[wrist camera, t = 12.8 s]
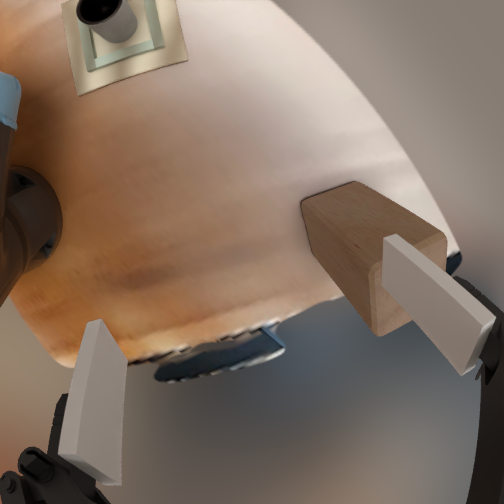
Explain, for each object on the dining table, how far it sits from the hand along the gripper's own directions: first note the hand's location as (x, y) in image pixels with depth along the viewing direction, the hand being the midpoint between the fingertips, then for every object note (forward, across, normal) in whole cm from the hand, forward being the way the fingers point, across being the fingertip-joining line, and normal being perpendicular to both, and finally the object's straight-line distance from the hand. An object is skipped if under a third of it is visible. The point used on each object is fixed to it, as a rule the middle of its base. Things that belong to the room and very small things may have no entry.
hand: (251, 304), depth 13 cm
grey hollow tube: (+28, -6, +21) cm, 35 cm away
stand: (+29, -6, +21) cm, 36 cm away
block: (+29, +17, -12) cm, 36 cm away
